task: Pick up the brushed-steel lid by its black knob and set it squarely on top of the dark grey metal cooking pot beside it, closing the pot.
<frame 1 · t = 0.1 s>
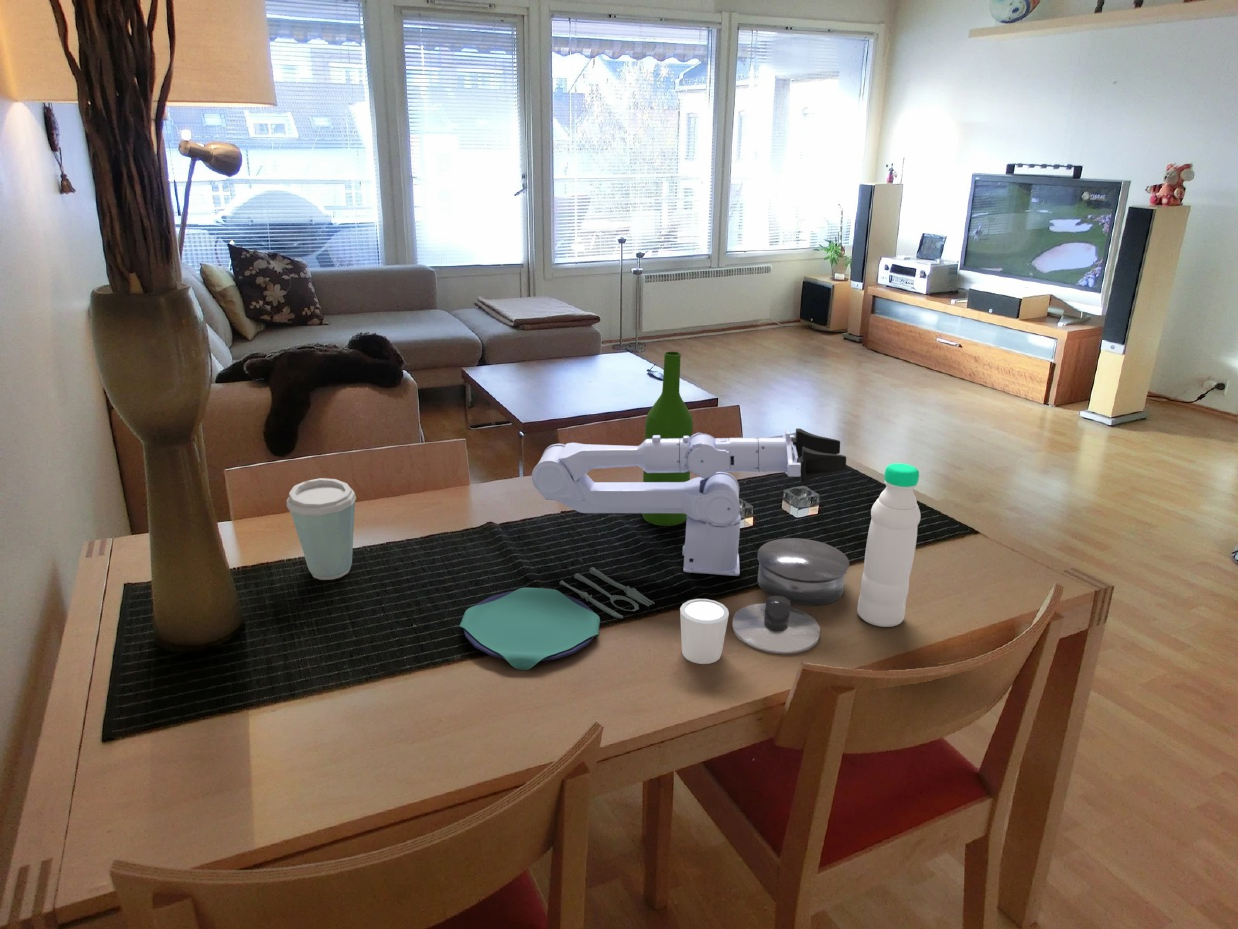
hand: (842, 454, 139), 22 cm above the table, tool horizontal, fingers open, 7 cm apart
water bottle: (879, 618, 133), on the table
cooking pot: (800, 584, 142), on the table
disposable coffee cup: (329, 573, 142), on the table
white cup: (701, 654, 123), on the table
wine bottle: (664, 517, 167), on the table
cutlery set: (557, 623, 130), on the table
steel lid: (775, 631, 129), on the table
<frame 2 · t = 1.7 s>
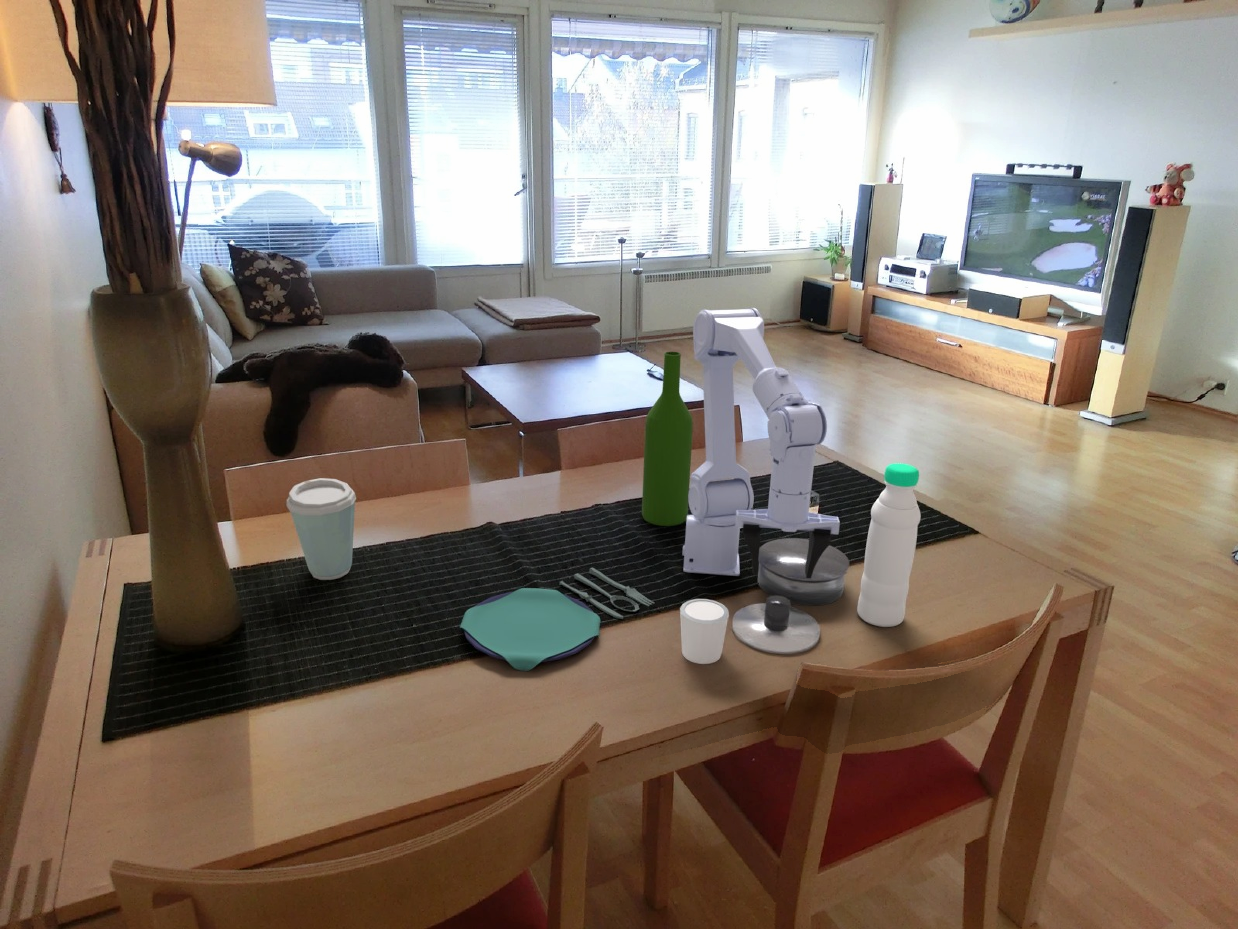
hand: (781, 573, 126), 10 cm above the table, tool pointing down, fingers open, 7 cm apart
nothing on the table moved.
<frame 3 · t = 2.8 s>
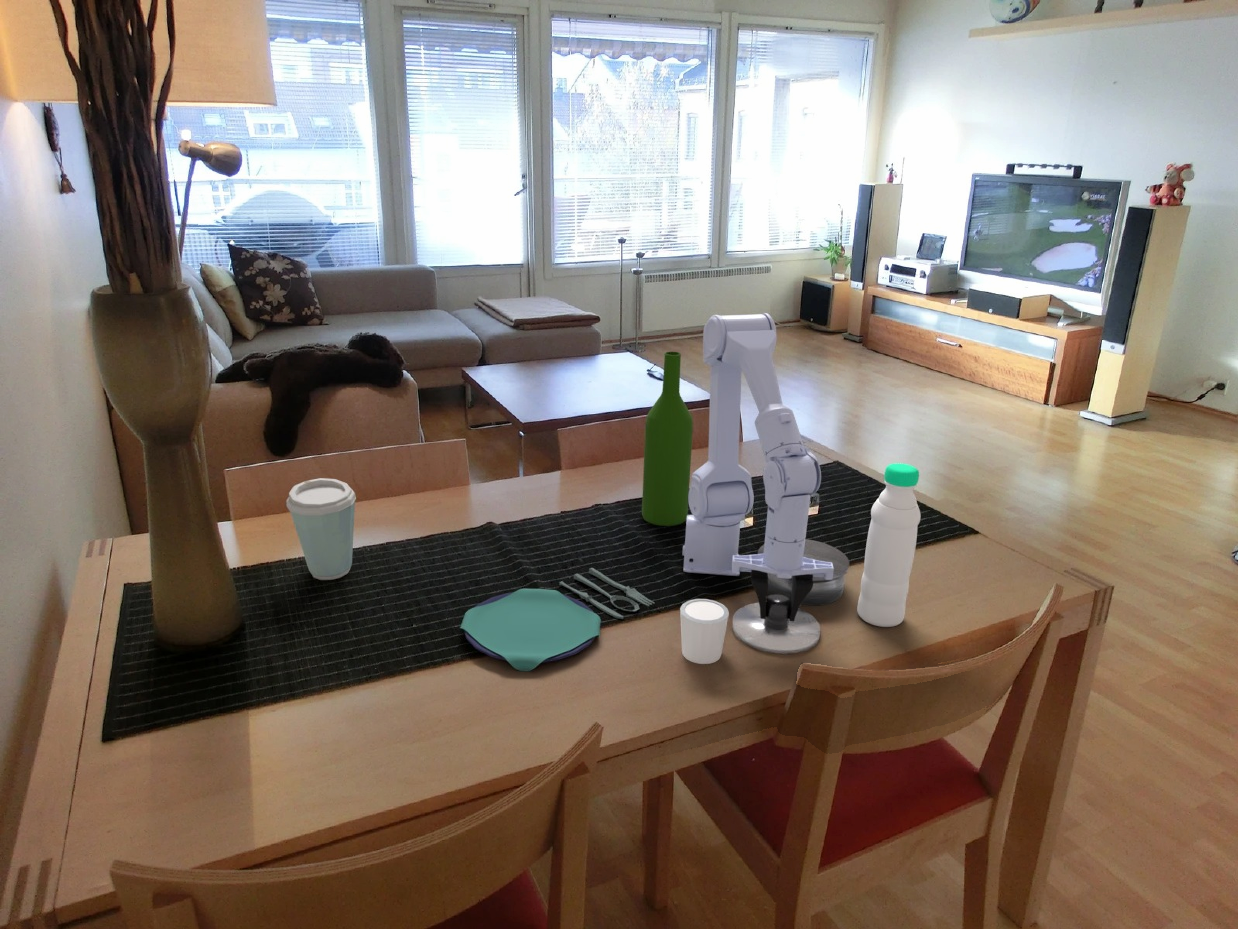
hand: (776, 616, 128), 2 cm above the table, tool pointing down, fingers closed on steel lid, 4 cm apart
steel lid: (775, 630, 129), on the table, touching gripper
everything else where it was.
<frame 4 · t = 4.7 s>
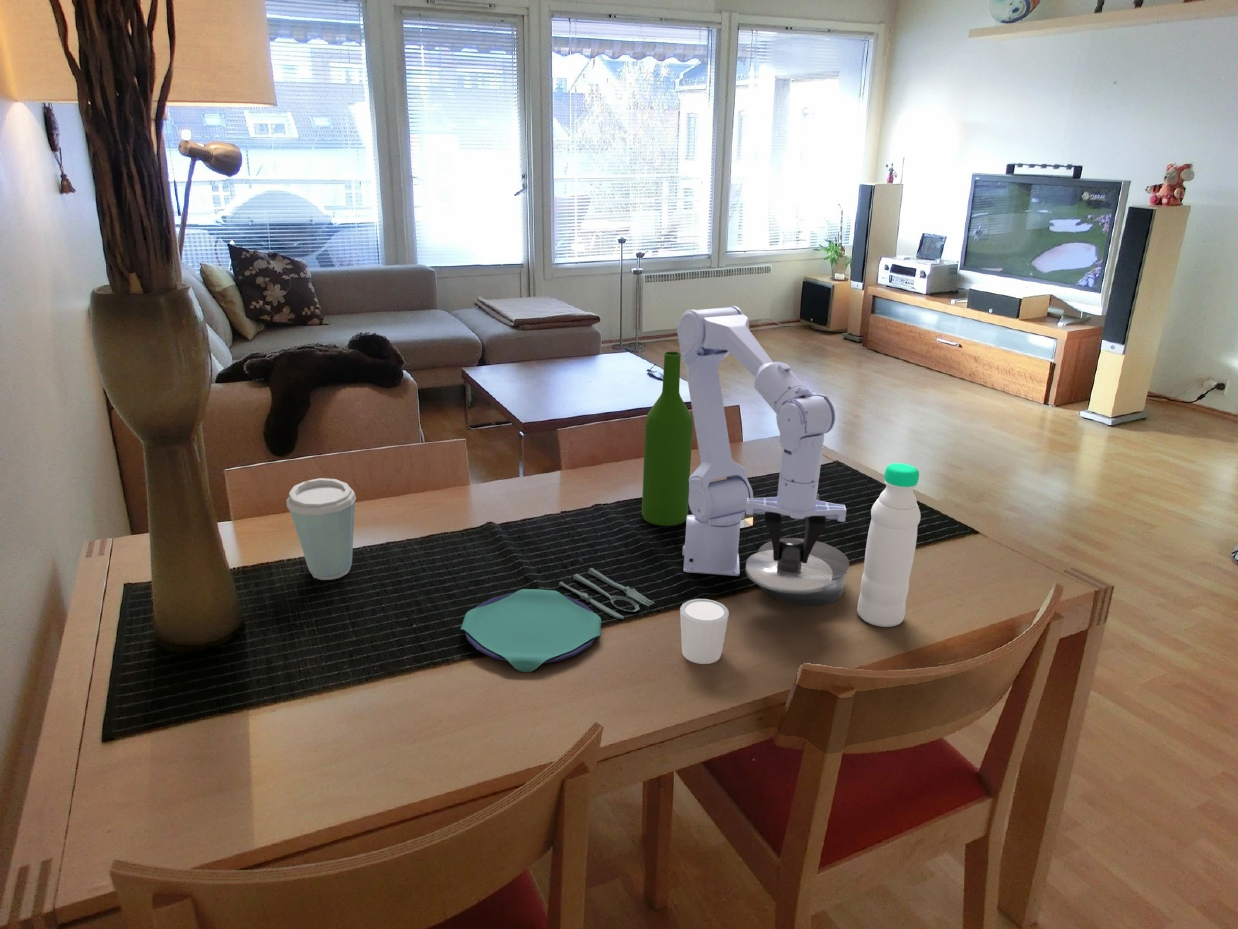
hand: (789, 559, 130), 9 cm above the table, tool pointing down, fingers closed on steel lid, 4 cm apart
steel lid: (788, 574, 131), point 7 cm above the table, touching gripper
everything else where it was.
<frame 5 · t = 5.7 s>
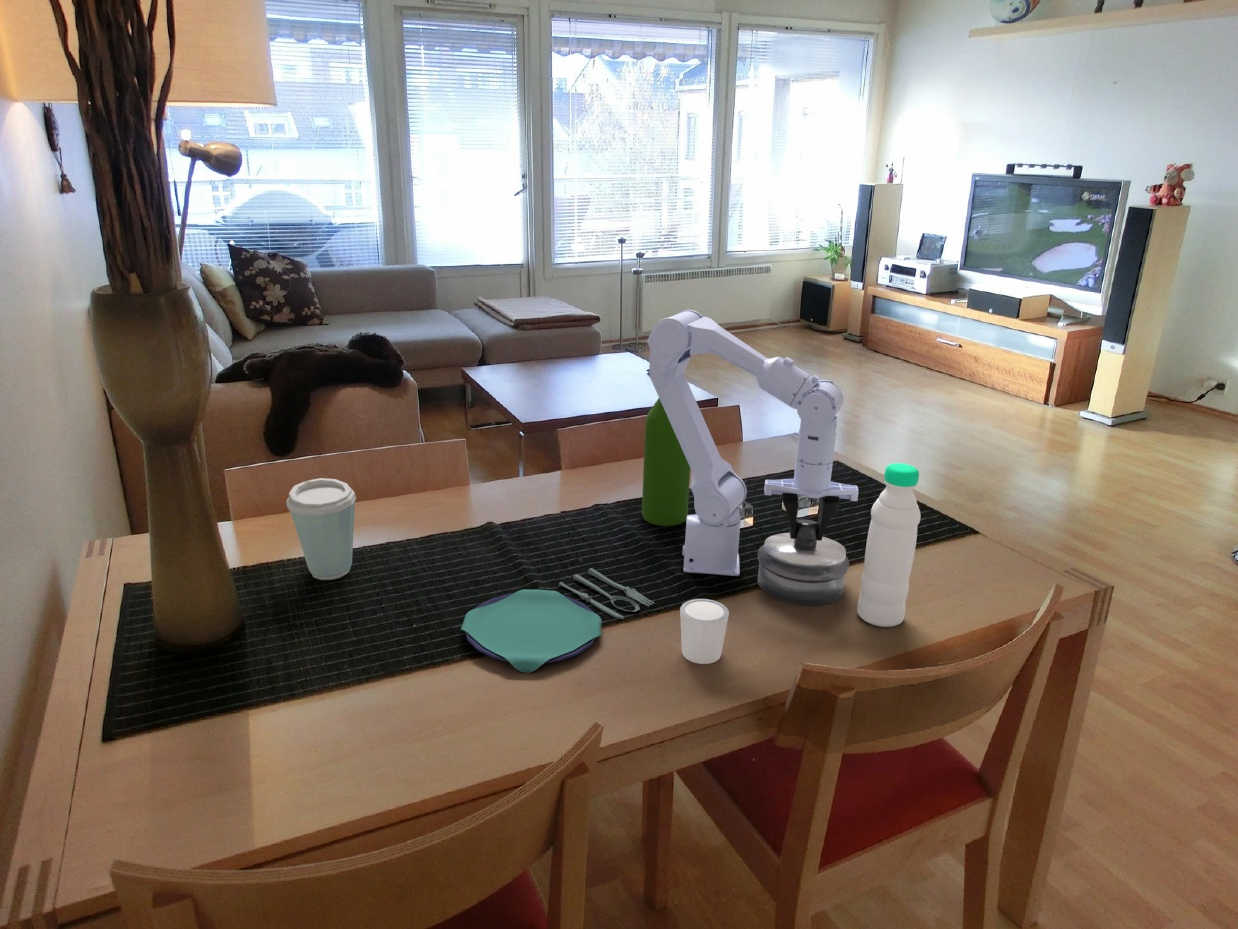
hand: (805, 537, 139), 9 cm above the table, tool pointing down, fingers closed on steel lid, 4 cm apart
steel lid: (804, 553, 140), point 6 cm above the table, tilted 5°, touching gripper
everything else where it was.
when the fingers open (9 cm above the table, at t = 6.4 s): steel lid drops 1 cm, resting on cooking pot.
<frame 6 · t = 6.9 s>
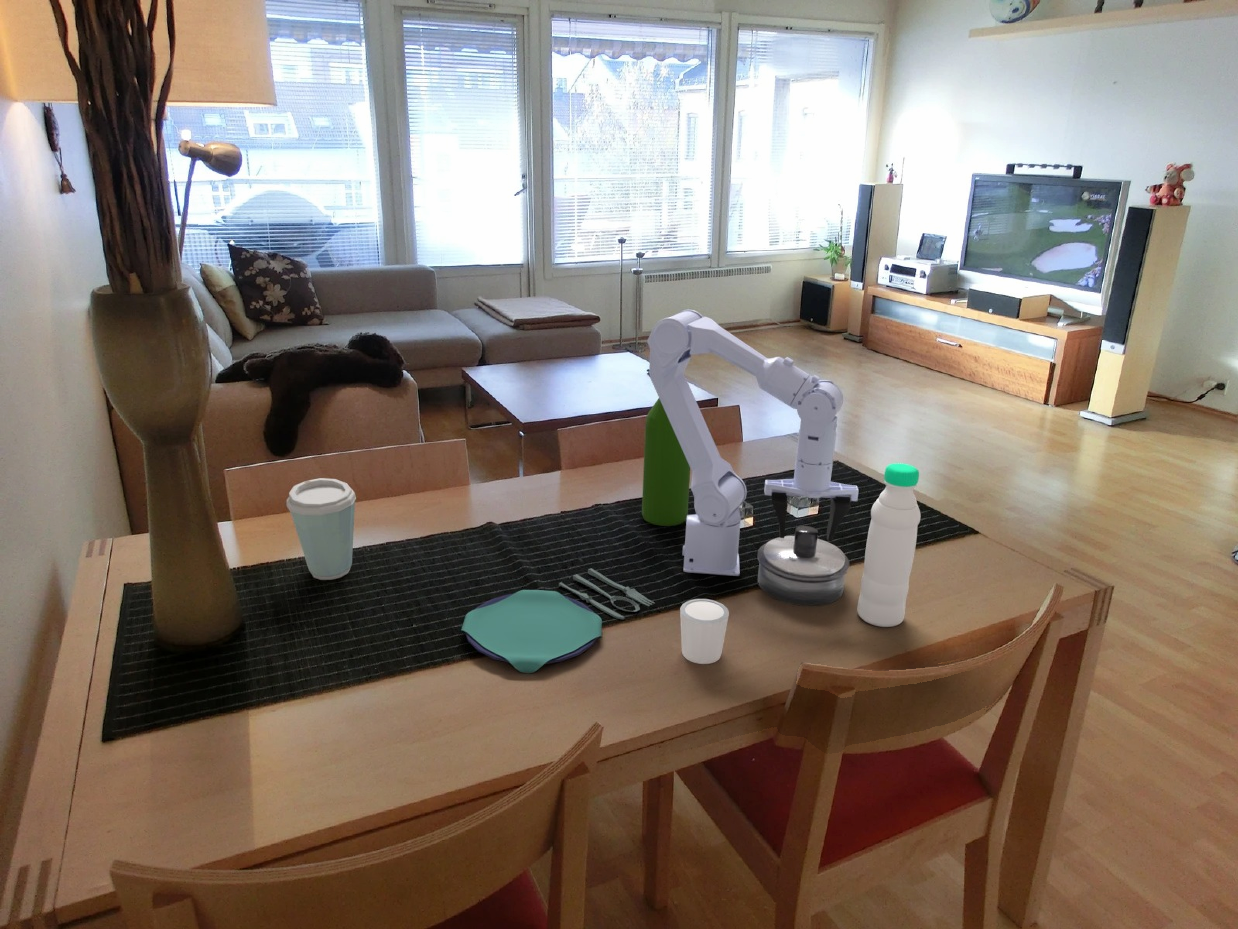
hand: (805, 537, 139), 9 cm above the table, tool pointing down, fingers open, 7 cm apart
steel lid: (803, 559, 140), point 5 cm above the table, touching cooking pot
everything else where it was.
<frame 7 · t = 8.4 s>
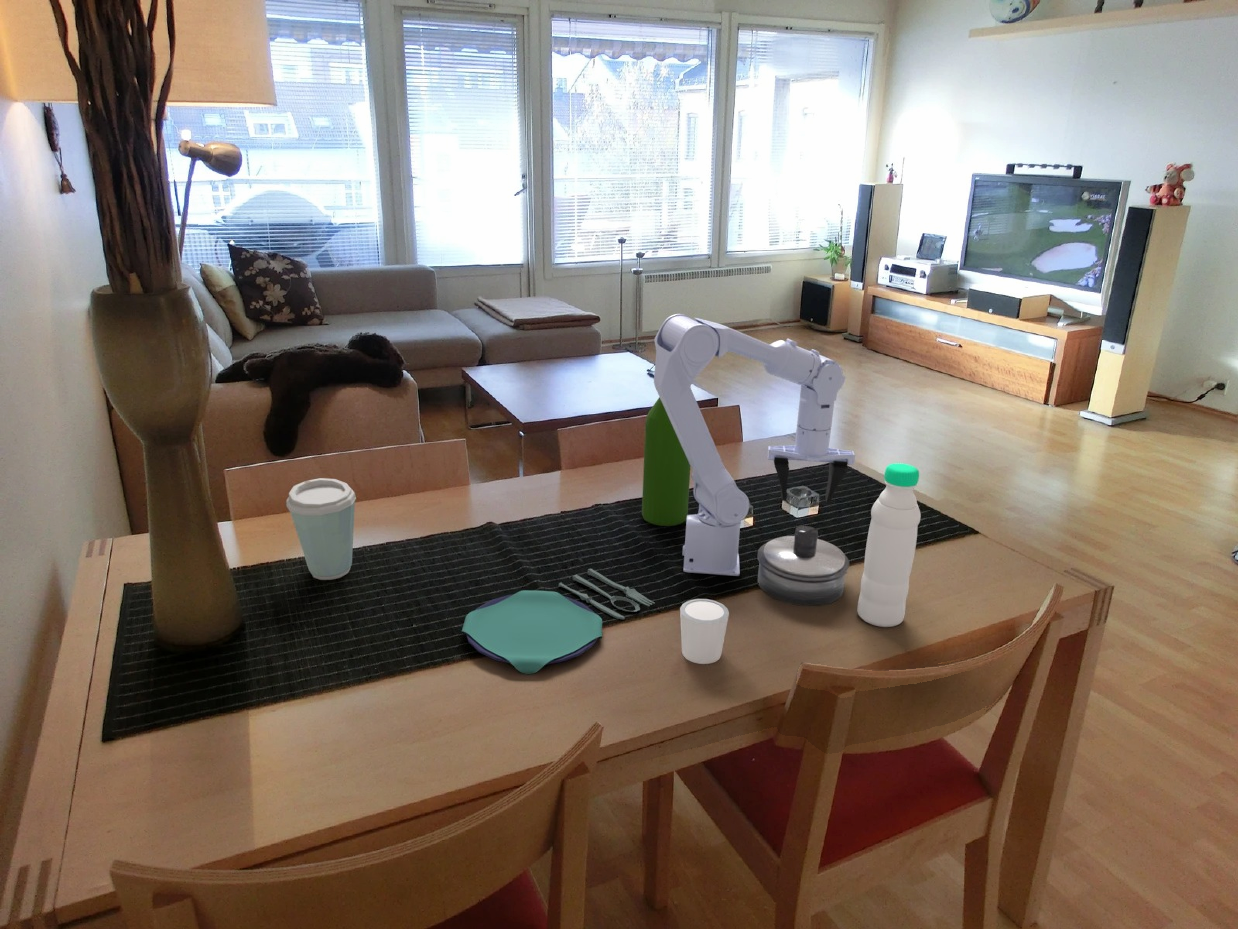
hand: (805, 499, 150), 10 cm above the table, tool pointing down, fingers open, 7 cm apart
nothing on the table moved.
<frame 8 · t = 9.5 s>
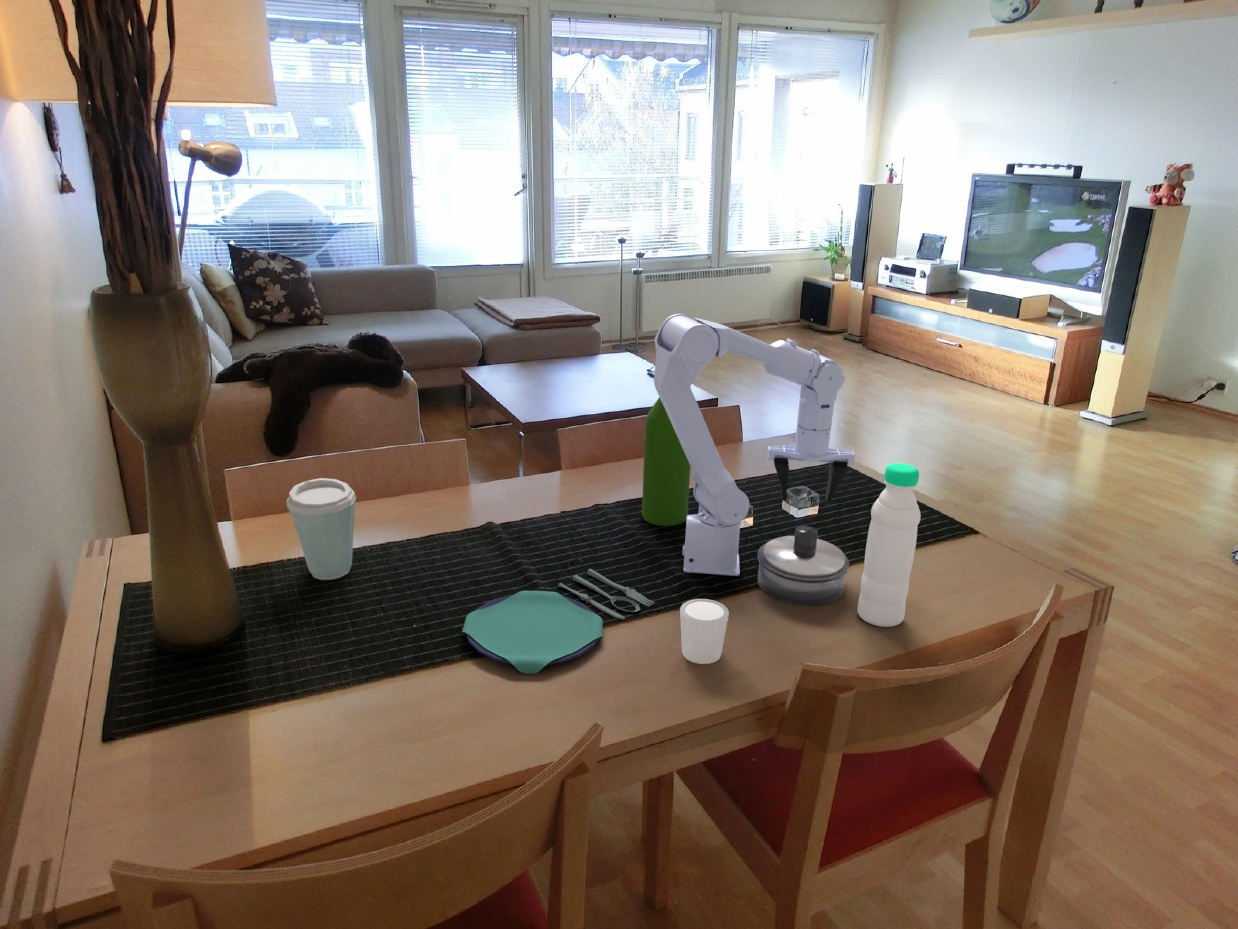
hand: (805, 499, 150), 10 cm above the table, tool pointing down, fingers open, 7 cm apart
nothing on the table moved.
at the end: steel lid 0.7 cm off-centre on the cooking pot, point 5.0 cm above the cooking pot's base; steel lid tilted 0°; the gripper is holding nothing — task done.
